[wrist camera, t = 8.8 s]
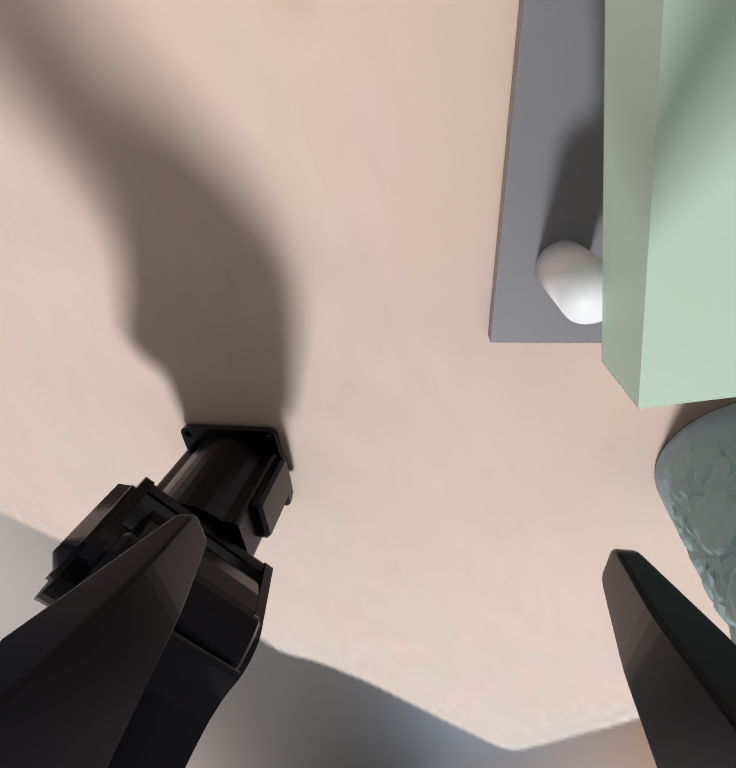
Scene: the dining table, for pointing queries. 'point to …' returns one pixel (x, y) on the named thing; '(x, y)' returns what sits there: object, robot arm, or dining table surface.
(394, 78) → the dining table surface
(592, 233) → the peg stand
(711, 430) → the teal cylinder
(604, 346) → the plank
